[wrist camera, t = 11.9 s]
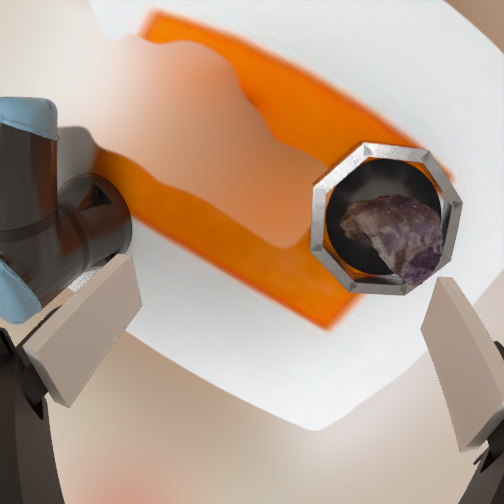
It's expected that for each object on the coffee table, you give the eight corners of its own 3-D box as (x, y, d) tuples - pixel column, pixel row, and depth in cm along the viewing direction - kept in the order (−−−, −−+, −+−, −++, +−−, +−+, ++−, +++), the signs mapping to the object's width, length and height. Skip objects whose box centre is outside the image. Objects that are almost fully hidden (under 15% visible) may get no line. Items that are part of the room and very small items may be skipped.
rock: (390, 267, 40) (440, 215, 35) (408, 308, 33) (470, 249, 28) (328, 219, 37) (381, 158, 32) (339, 258, 30) (409, 182, 25)
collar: (307, 279, 42) (306, 289, 40) (314, 137, 34) (314, 139, 32) (435, 287, 39) (440, 297, 37) (460, 154, 31) (468, 158, 29)
